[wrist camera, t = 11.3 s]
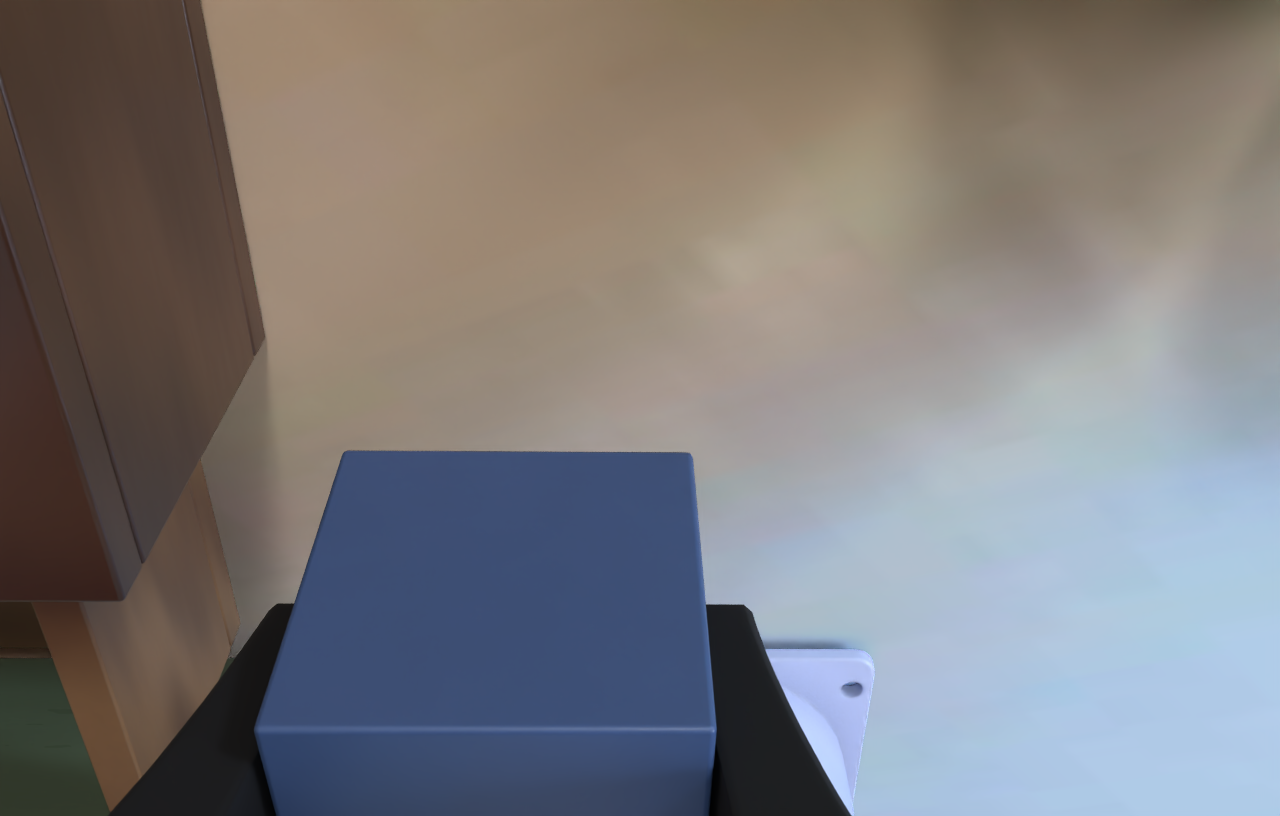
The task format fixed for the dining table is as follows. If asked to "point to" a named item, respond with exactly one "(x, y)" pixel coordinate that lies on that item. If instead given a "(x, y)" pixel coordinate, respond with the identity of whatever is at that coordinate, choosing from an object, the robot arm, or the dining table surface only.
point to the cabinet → (110, 286)
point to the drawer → (114, 672)
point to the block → (497, 641)
